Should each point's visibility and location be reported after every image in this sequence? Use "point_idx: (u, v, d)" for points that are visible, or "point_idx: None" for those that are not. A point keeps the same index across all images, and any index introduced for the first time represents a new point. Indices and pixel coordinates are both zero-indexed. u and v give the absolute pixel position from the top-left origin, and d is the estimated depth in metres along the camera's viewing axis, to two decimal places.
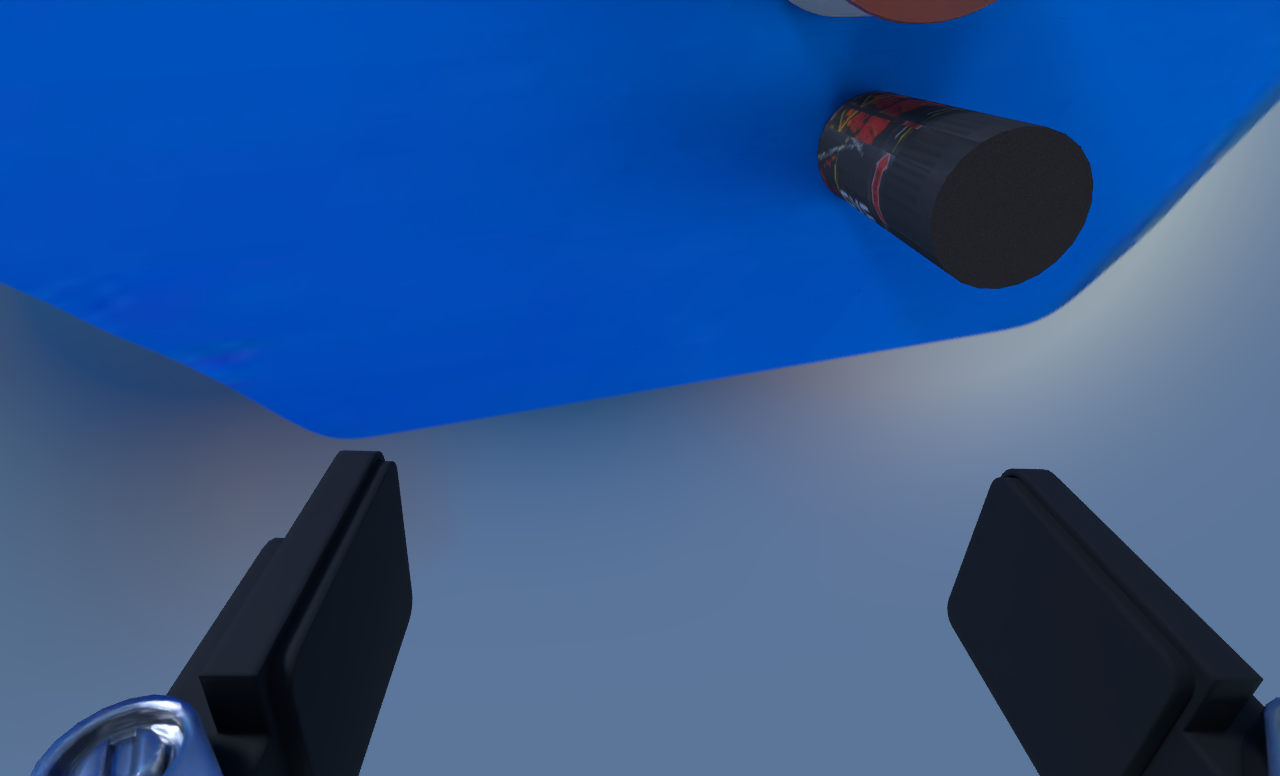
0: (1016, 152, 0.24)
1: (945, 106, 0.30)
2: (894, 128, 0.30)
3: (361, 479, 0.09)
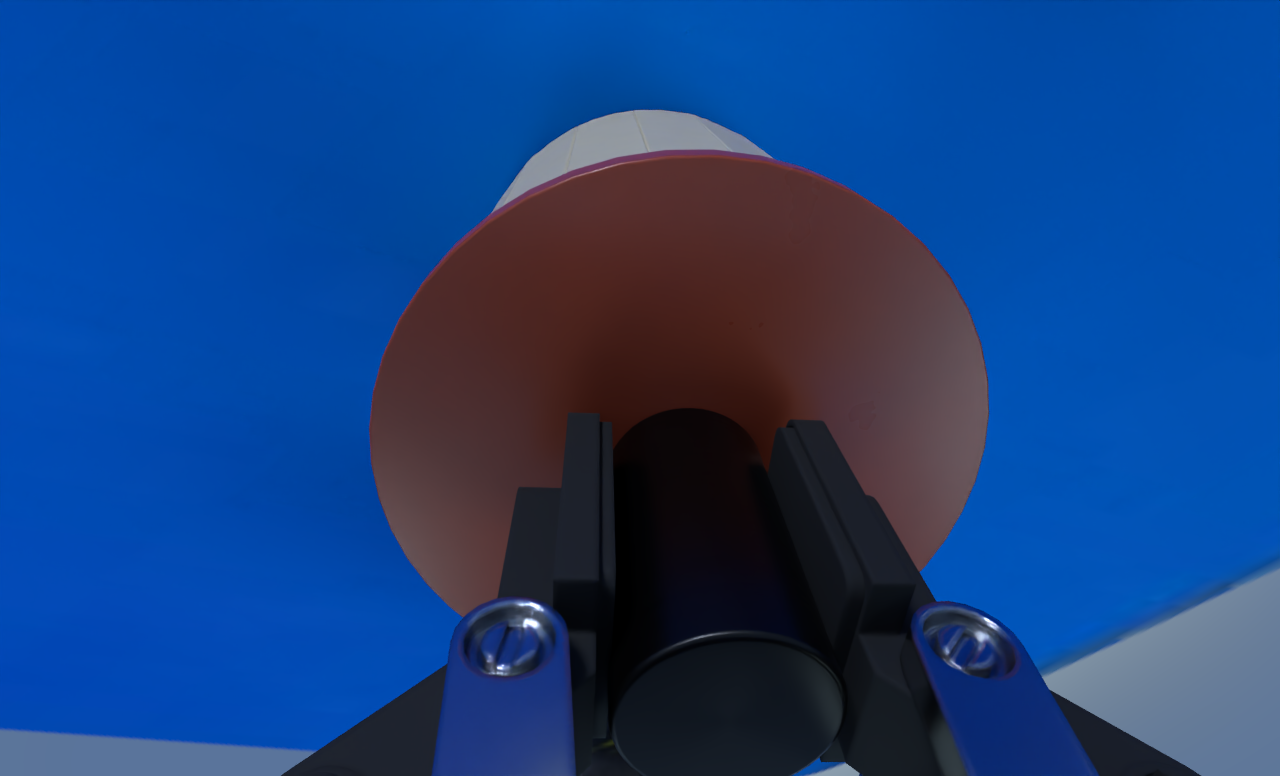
0: None
1: None
2: None
3: (597, 435, 0.10)
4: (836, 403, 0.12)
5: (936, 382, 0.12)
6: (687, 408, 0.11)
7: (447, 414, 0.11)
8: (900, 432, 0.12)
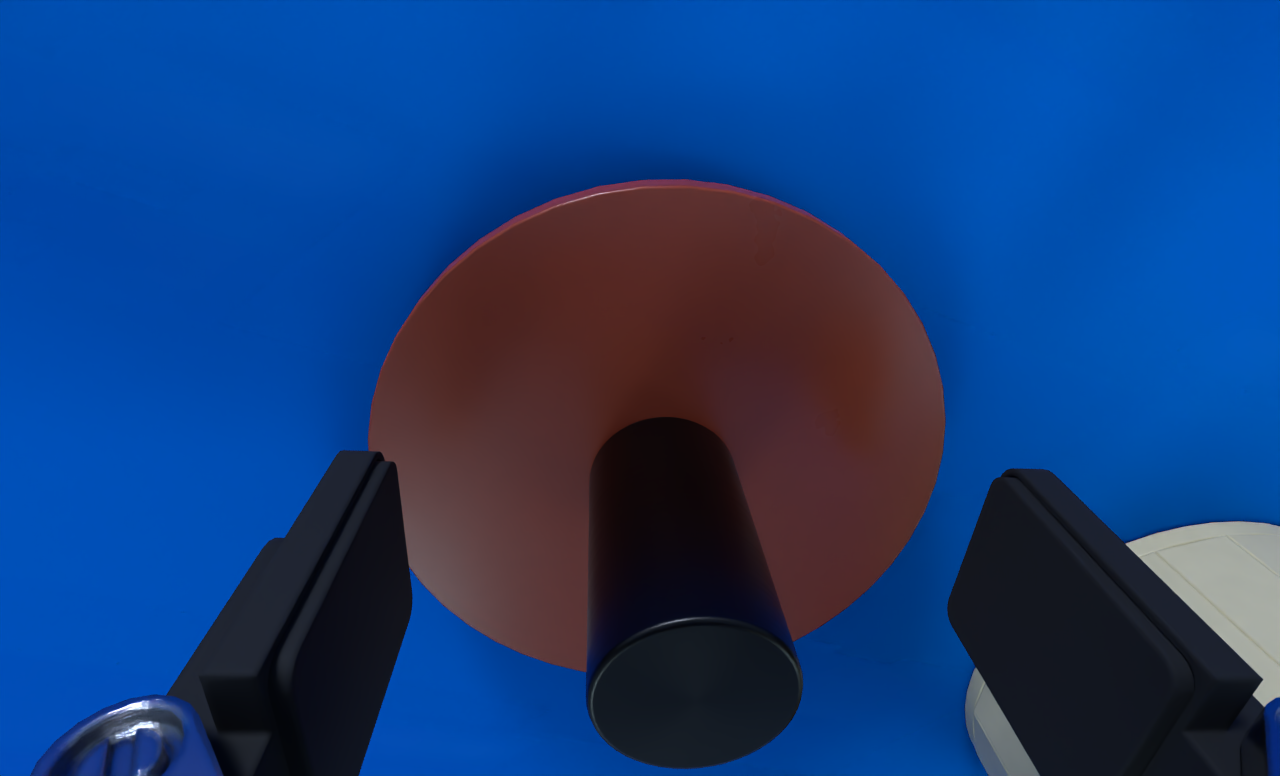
0: None
1: None
2: None
3: (361, 479, 0.09)
4: (803, 411, 0.13)
5: (895, 391, 0.13)
6: (664, 417, 0.12)
7: (441, 424, 0.12)
8: (864, 438, 0.13)
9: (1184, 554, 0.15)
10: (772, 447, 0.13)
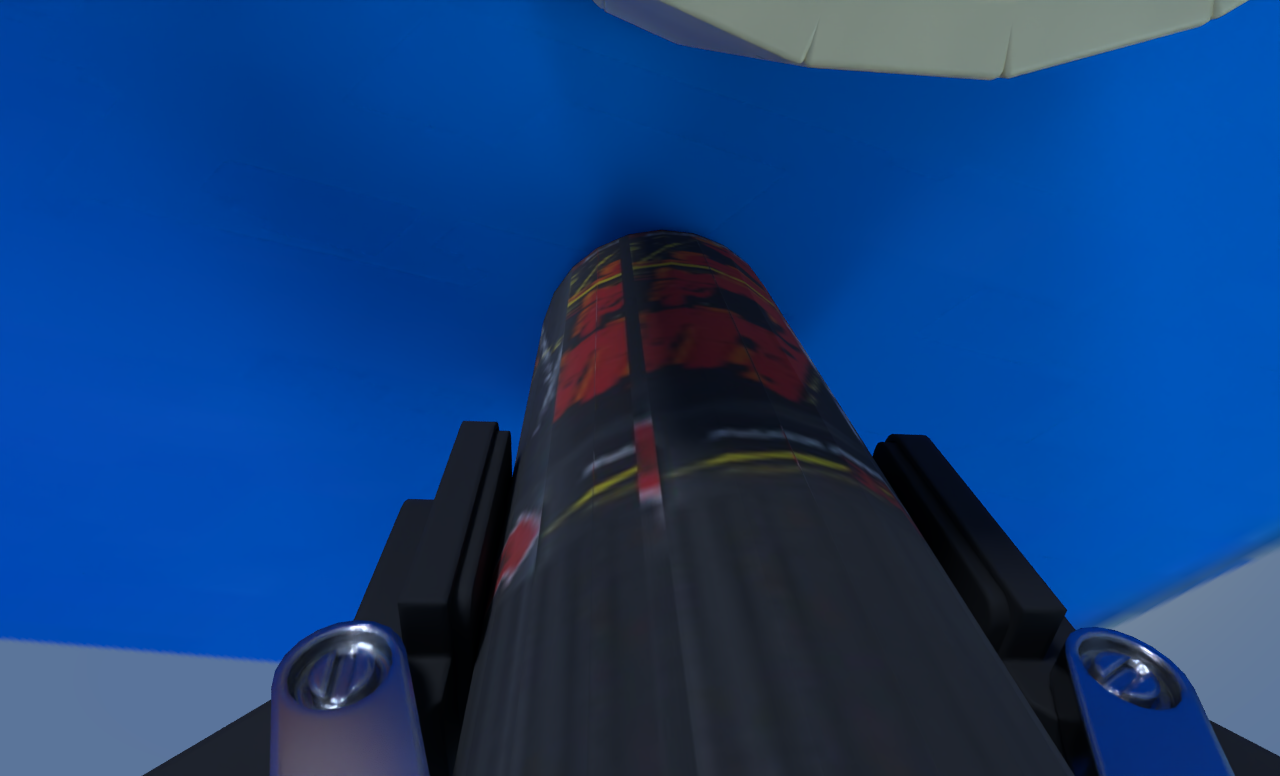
0: None
1: (792, 402, 0.09)
2: (612, 416, 0.09)
3: (488, 445, 0.10)
4: None
5: None
6: None
7: None
8: None
9: None
10: None
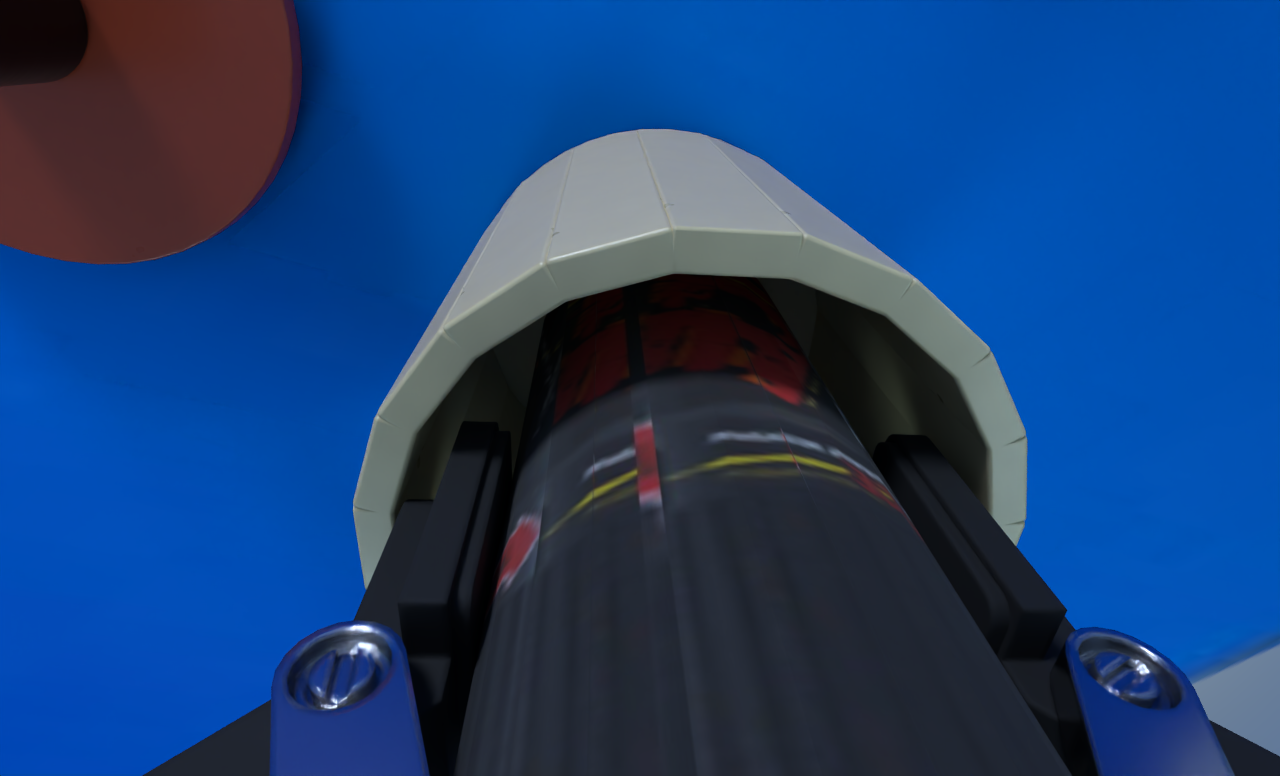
0: None
1: (792, 404, 0.09)
2: (613, 419, 0.09)
3: (488, 445, 0.10)
4: None
5: None
6: None
7: None
8: None
9: (590, 143, 0.16)
10: None
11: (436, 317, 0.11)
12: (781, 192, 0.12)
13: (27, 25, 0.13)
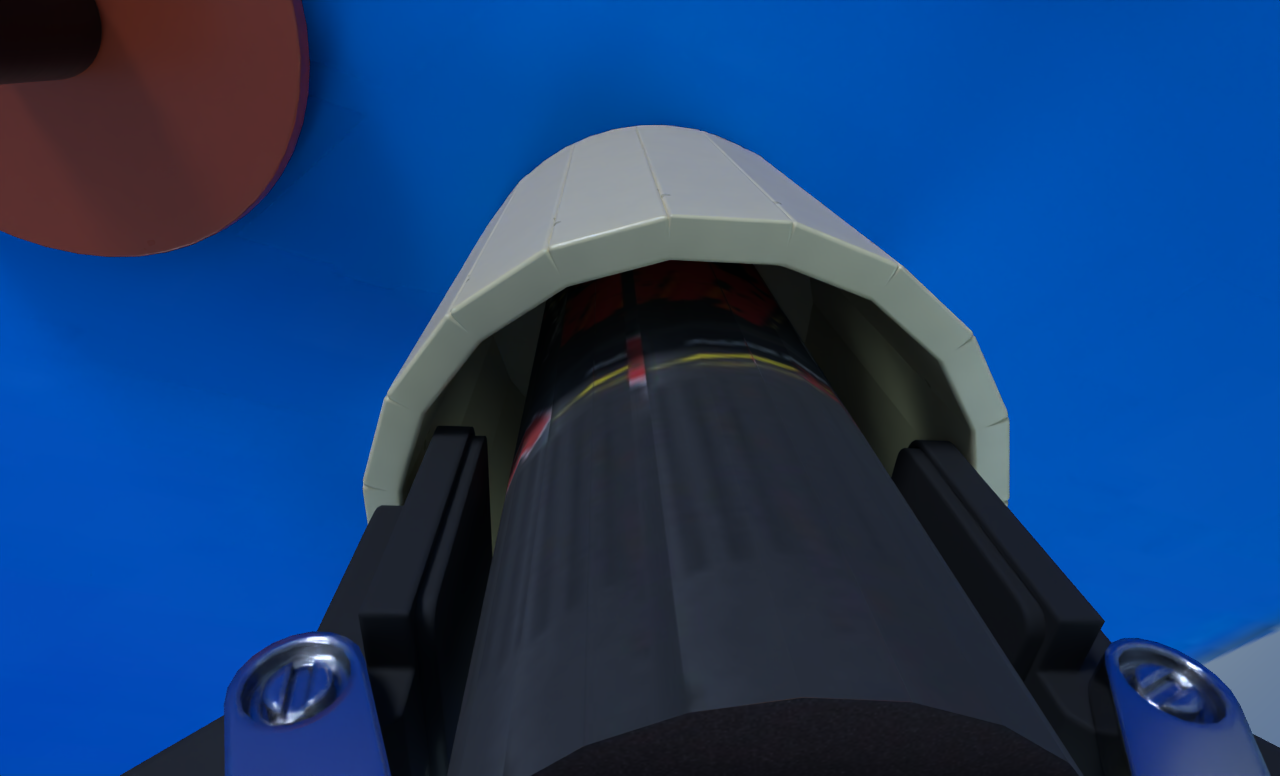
0: None
1: (756, 325, 0.11)
2: (609, 336, 0.11)
3: (462, 451, 0.10)
4: None
5: None
6: None
7: None
8: None
9: (591, 139, 0.17)
10: None
11: (442, 305, 0.12)
12: (774, 185, 0.12)
13: (45, 23, 0.13)
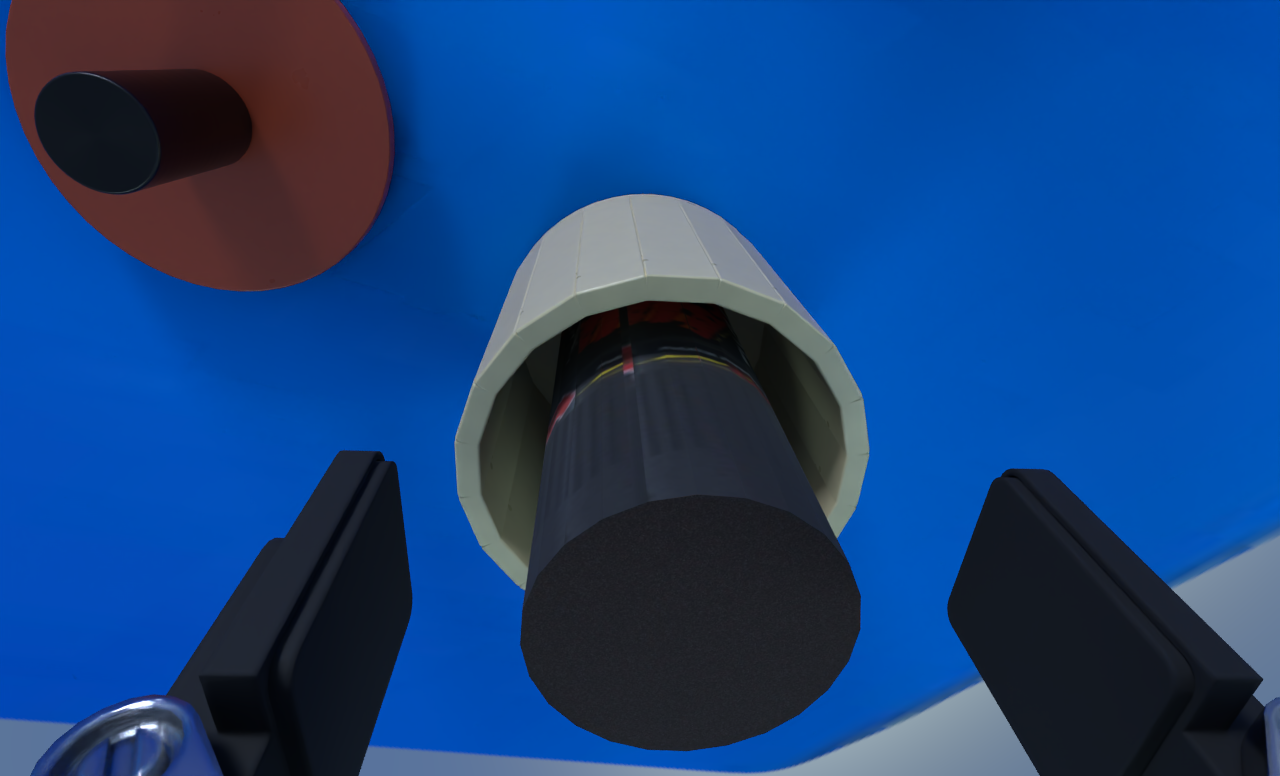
0: (720, 539, 0.11)
1: (705, 338, 0.17)
2: (611, 345, 0.17)
3: (361, 479, 0.09)
4: (282, 69, 0.20)
5: (336, 55, 0.20)
6: (189, 67, 0.20)
7: (51, 71, 0.20)
8: (328, 92, 0.21)
9: (596, 205, 0.23)
10: (270, 97, 0.21)
11: (500, 327, 0.18)
12: (719, 247, 0.18)
13: (225, 135, 0.20)
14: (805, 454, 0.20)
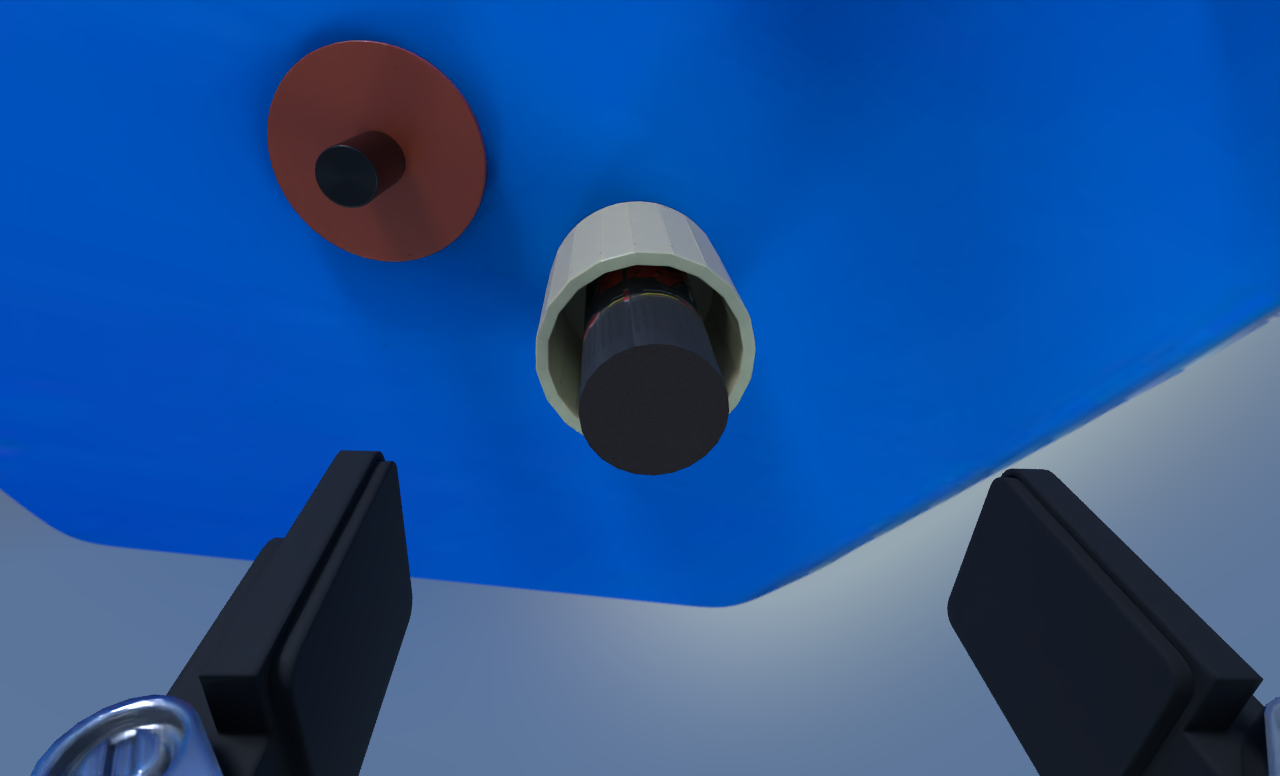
0: (664, 364, 0.26)
1: (668, 286, 0.32)
2: (617, 289, 0.32)
3: (361, 479, 0.09)
4: (425, 130, 0.35)
5: (457, 122, 0.35)
6: (372, 130, 0.35)
7: (292, 132, 0.35)
8: (451, 143, 0.35)
9: (608, 209, 0.38)
10: (417, 146, 0.35)
11: (557, 280, 0.32)
12: (677, 236, 0.33)
13: (396, 171, 0.34)
14: (728, 355, 0.35)
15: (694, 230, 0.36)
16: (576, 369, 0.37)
